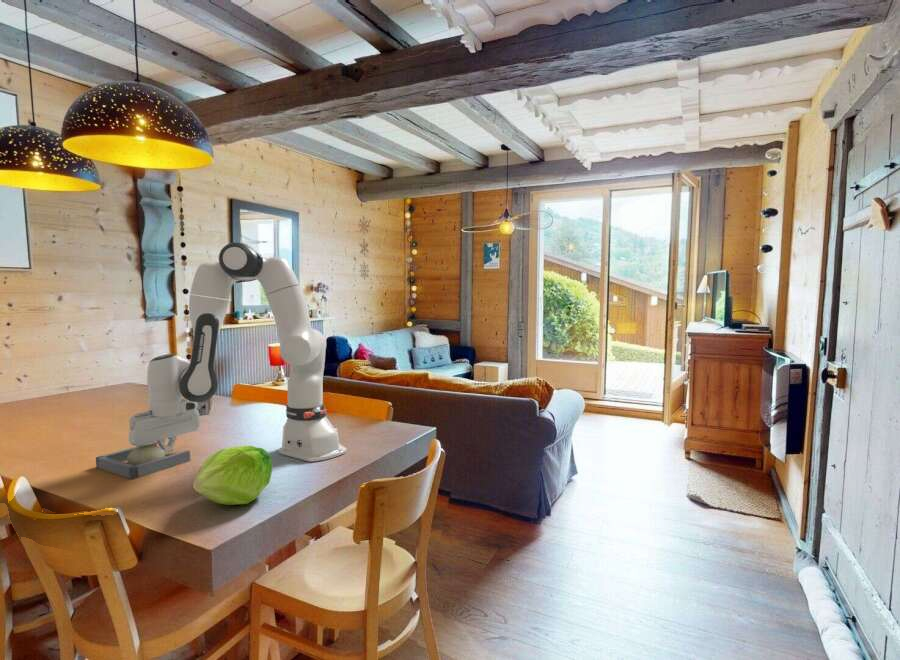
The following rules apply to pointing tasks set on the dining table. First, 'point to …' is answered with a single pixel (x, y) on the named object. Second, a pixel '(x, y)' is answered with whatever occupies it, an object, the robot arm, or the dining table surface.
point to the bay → (116, 465)
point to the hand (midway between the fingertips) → (166, 451)
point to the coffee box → (205, 406)
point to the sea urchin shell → (145, 454)
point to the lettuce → (234, 475)
